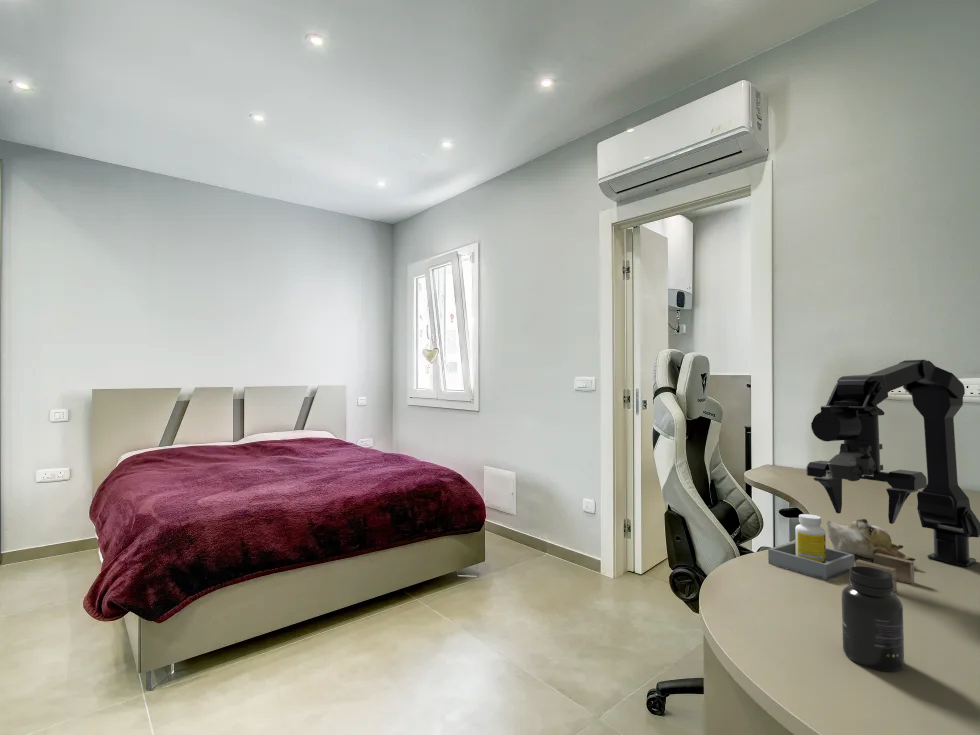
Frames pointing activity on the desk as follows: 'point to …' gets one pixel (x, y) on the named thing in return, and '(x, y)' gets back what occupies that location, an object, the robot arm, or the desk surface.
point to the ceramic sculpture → (863, 540)
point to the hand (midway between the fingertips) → (864, 518)
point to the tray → (811, 562)
